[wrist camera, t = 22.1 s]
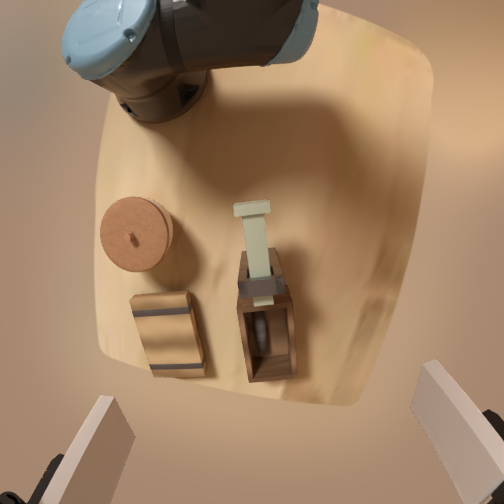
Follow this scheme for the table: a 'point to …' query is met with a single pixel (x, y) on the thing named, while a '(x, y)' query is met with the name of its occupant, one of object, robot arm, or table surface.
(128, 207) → the lidded jar
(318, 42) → the table surface
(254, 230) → the bolt
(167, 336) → the lid
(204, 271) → the table surface
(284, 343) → the open wooden box
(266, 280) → the keeper
